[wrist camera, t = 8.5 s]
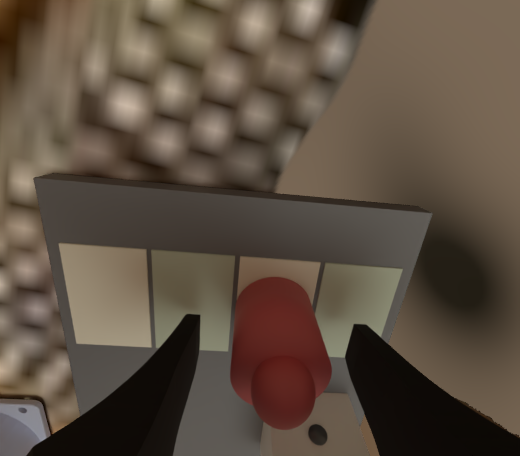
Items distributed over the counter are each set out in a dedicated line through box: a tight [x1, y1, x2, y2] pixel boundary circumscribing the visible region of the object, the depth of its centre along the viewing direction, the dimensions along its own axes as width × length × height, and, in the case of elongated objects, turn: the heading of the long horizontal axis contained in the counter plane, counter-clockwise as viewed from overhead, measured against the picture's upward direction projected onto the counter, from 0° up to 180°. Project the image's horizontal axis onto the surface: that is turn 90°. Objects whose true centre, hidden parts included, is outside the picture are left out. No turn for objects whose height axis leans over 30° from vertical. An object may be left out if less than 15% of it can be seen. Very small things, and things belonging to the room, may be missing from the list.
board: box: [34, 173, 432, 456], centre depth 16 cm, size 18×19×1 cm
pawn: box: [230, 277, 332, 430], centre depth 12 cm, size 4×4×6 cm
